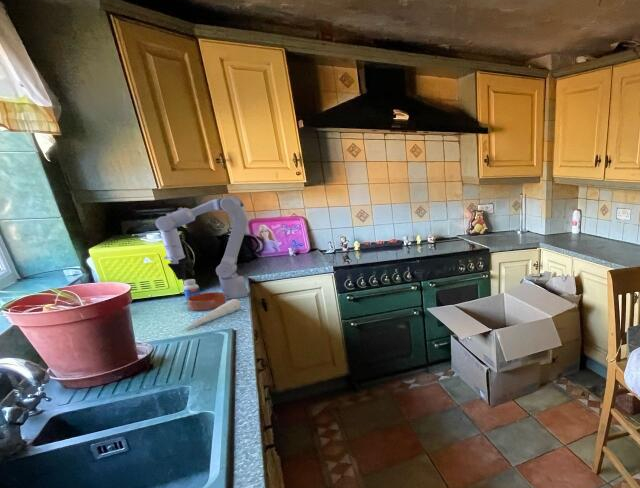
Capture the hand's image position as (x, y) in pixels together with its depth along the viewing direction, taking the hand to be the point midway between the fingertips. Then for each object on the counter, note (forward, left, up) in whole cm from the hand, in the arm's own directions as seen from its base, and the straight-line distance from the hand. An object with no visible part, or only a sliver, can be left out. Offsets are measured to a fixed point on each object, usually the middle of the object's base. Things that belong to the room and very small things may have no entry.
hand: (181, 277), depth 180 cm
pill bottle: (-3, +4, -11) cm, 12 cm away
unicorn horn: (-11, +34, -11) cm, 37 cm away
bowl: (-8, +14, -10) cm, 19 cm away
